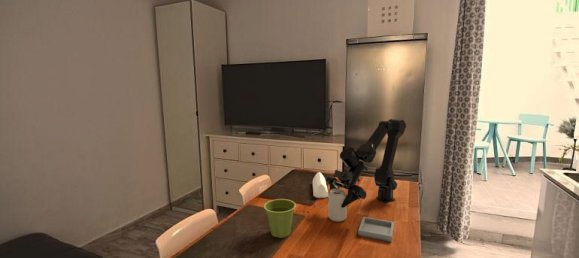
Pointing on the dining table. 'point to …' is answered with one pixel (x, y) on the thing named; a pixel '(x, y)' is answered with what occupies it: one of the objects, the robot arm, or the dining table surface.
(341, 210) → the can
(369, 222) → the tray
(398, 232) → the dining table surface
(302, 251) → the dining table surface
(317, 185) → the crystal
